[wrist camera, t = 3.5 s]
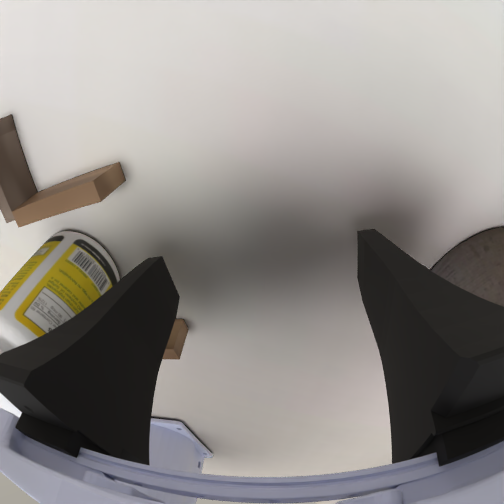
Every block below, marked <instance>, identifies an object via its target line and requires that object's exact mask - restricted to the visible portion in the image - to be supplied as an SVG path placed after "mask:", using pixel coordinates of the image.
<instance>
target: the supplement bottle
mask: <svg viewBox="0 0 504 504" xmlns="http://www.w3.org/2000/svg"><path fill="white" fill-rule="evenodd" d="M118 281H120V278H119V274H118V271H117V268H116V266H115V264H114V262H113V260H112V258H111V257H110V256H109V254H108V253H107V252H106V251H105V250H104V248H103V247H102V246H100V245H99V244H98V243H97V242H96V241H94V240H93V239H91V238H90V237H88V236H86V235H84V234H81V233H78V232H72V231H63V232H59V233H56V234H54V235H53V236H52V237H51V238H49V239H48V240H47V241H46V242H45V243H44V244H43V246H41V247H40V248H39V250H38V251H37V252H36V253H35V254H34V255H33V256H32V257H31V258H30V259H29V260H28V261H27V262H26V263H25V264H24V266H23V267H22V268H21V269H20V270H19V271H18V272H17V273H16V275H15V276H14V277H13V278H12V279H11V280H10V281H9V283H8V284H7V285H6V286H5V287H4V289H3V290H2V291H1V292H0V354H2V353H3V352H6V351H8V350H11V349H13V348H16V347H18V346H21V345H23V344H26V343H28V342H30V341H32V340H34V339H36V338H38V337H40V336H42V335H44V334H46V333H48V332H50V331H51V330H53V329H55V328H56V327H58V326H60V325H61V324H63V323H65V322H66V321H68V320H69V319H71V318H72V317H74V316H75V315H77V314H78V313H80V312H81V311H82V310H84V309H85V308H86V307H88V306H89V305H90V304H92V303H93V302H94V301H95V300H97V299H98V298H99V297H100V296H102V295H103V294H104V293H105V292H106V291H108V290H109V289H110V288H111V287H113V286H114V285H115V284H116V283H117V282H118ZM0 408H3V409H5V410H7V411H9V412H11V413H13V414H14V415H16V416H17V417H19V418H20V416H21V414H22V412H21V411H20V410H18V409H17V408H16V407H15V406H14V405H13V404H12V403H11V402H10V401H9V400H7V399H6V398H5V397H4V396H3V395H2V394H1V393H0Z"/></svg>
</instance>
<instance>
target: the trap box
mask: <svg viewBox="0 0 504 504" xmlns="http://www.w3.org/2000/svg"><path fill="white" fill-rule="evenodd" d="M124 181H126V180H125V178H124V175H123V172H122V169H121V166H120V163H119V162H118V163H115V164H112V165H109V166H106V167H103V168H100V169H97V170H94V171H92V172H89V173H86V174H83V175H80V176H78V177H75V178H72V179H70V180H67V181H65V182H62V183H60V184H57V185H55V186H52V187H50V188H47V189H45V190H42V191H40V192H38V193H37V190H36V188H35V185H34V183H33V180H32V177H31V175H30V172H29V169H28V166H27V163H26V161H25V158H24V155H23V152H22V149H21V145H20V142H19V139H18V136H17V132H16V129H15V125H14V122H13V118H12V115H9V116H7V117H4V118H1V119H0V209H1V211H2V214H3V216H4V218H5V220H6V223H8V222H11V221H13V220H16V223H17V225H18V227H22V226H25V225H28V224H30V223H33V222H36V221H39V220H42V219H45V218H48V217H51V216H55V215H58V214H61V213H64V212H67V211H71V210H74V209H77V208H81V207H84V206H87V205H91V204H94V203H98V202H101V201H102V200H103V199H105V198H106V197H107V196H108V195H109V194H110V193H111V192H113V191H114V190H115V189H116V188H117V187H118V186H120V185H121V184H122V183H123V182H124ZM187 332H188V328H187V326H186V324H185V322H184V320H183V319H175V322H174V325H173V328H172V331H171V334H170V337H169V340H168V343H167V346H166V349H165V352H164V355H163V358H162V359H180V356H181V352H182V349H183V346H184V342H185V339H186V336H187Z"/></svg>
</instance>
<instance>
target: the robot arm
mask: <svg viewBox="0 0 504 504" xmlns="http://www.w3.org/2000/svg"><path fill="white" fill-rule="evenodd" d="M357 233H358V282H359V287H360V291H361V296H362V300H363V304H364V307H365V309H366V312H367V315H368V318H369V321H370V324H371V327H372V330H373V333H374V336H375V339H376V342H377V345H378V349H379V352H380V356H381V360H382V365H383V370H384V376H385V382H386V389H387V396H388V404H389V413H390V424H391V440H392V464H389V465H384V466H379V467H374V468H368V469H363V470H356V471H349V472H342V473H334V474H324V475H312V476H297V477H238V476H222V475H210V474H201V473H202V467H203V462H204V457H205V458H212V457H213V454H212V453H211V452H210V451H209V450H208V449H207V448H206V447H205V446H204V445H203V444H202V443H201V442H200V441H199V440H198V439H197V438H196V437H195V436H194V435H193V434H192V433H191V432H190V431H189V430H188V428H187V427H186V426H185V425H184V424H183V423H182V422H179V421H173V420H164V419H155V418H151V412H152V405H153V397H154V391H155V386H156V380H157V375H158V371H159V368H160V364H161V361H162V358H163V355H164V352H165V349H166V346H167V343H168V340H169V337H170V334H171V331H172V328H173V325H174V322H175V319H176V314H177V309H178V303H179V294H178V292H177V290H176V288H175V285H174V283H173V281H172V278H171V276H170V274H169V271H168V269H167V267H166V264H165V262H164V259H163V257H162V256H160V257H153V258H148V259H146V260H145V261H143V262H142V263H141V264H139V265H138V266H137V267H135V268H134V269H133V270H132V271H130V272H129V273H128V274H127V275H126V276H124V277H123V278H122V279H121V280H120V281H118V282H117V283H116V284H115V285H114V286H113V287H111V288H110V289H109V290H108V291H106V292H105V293H104V294H103V295H102V296H100V297H99V298H98V299H97V300H95V301H94V302H93V303H92V304H90V305H89V306H88V307H86V308H85V309H84V310H82V311H81V312H80V313H78V314H77V315H75V316H74V317H72V318H71V319H69V320H68V321H66V322H65V323H63V324H61V325H60V326H58V327H56V328H55V329H53V330H51V331H50V332H48V333H46V334H44V335H42V336H40V337H38V338H36V339H34V340H32V341H30V342H28V343H26V344H23V345H21V346H18V347H16V348H13V349H11V350H8V351H6V352H3V353H2V354H0V393H1V394H2V395H3V396H4V397H5V398H6V399H7V400H9V401H10V402H11V403H12V404H13V405H14V406H15V407H16V408H17V409H18V410H20V411H21V412H22V414H21V416H20V418H19V417H17V416H16V415H14V414H13V413H11V412H9V411H7V410H5V409H3V408H0V471H1V472H2V473H3V474H4V475H5V476H6V477H7V478H8V479H10V480H11V481H12V482H13V483H14V484H16V485H17V486H18V487H19V488H20V489H22V490H23V491H24V492H25V493H27V494H28V495H29V496H31V497H32V498H33V499H35V500H36V501H37V502H39V503H40V504H196V501H197V498H202V499H210V500H219V501H231V502H246V503H301V502H302V503H303V502H318V501H329V500H338V499H346V498H352V499H348V500H343V501H339V502H337V503H336V504H504V307H503V306H501V305H498V304H495V303H493V302H490V301H488V300H485V299H483V298H481V297H478V296H476V295H474V294H472V293H470V292H468V291H466V290H464V289H462V288H460V287H458V286H456V285H454V284H452V283H451V282H449V281H447V280H445V279H444V278H442V277H440V276H438V275H437V274H435V273H434V272H432V271H431V270H429V269H428V268H426V267H425V266H423V265H422V264H420V263H419V262H417V261H416V260H415V259H413V258H412V257H410V256H409V255H408V254H406V253H405V252H404V251H402V250H401V249H400V248H398V247H397V246H396V245H395V244H393V243H392V242H391V241H389V240H388V239H387V238H386V237H384V236H383V235H382V234H380V233H379V232H378V231H376V230H375V229H370V230H362V231H357ZM360 496H361V497H360ZM353 497H357V498H353Z"/></svg>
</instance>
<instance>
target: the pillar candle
mask: <svg viewBox="0 0 504 504" xmlns="http://www.w3.org/2000/svg"><path fill="white" fill-rule="evenodd" d="M431 271H432V272H434V273H435V274H437V275H438V276H440V277H442V278H444V279H445V280H447V281H449V282H451V283H452V284H454V285H456V286H458V287H460V288H462V289H464V290H466V291H468V292H470V293H472V294H474V295H476V296H478V297H481V298H483V299H485V300H488V301H490V302H493V303H495V304H498V305H501V306H503V307H504V227H502V228H495V229H490V230H487V231H484V232H482V233H479V234H477V235H475V236H473V237H471V238H470V239H468V240H467V241H465V242H463V243H460V244H459V245H458V246H456V247H455V248H454V249H452V250H451V251H450V252H449V253H448V254H446V255H445V256H444V257H443V258H442V259H441V260H440V261H439V262H438V263H437V264H436V265H435V266H434V268H433V269H432V270H431Z"/></svg>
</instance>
